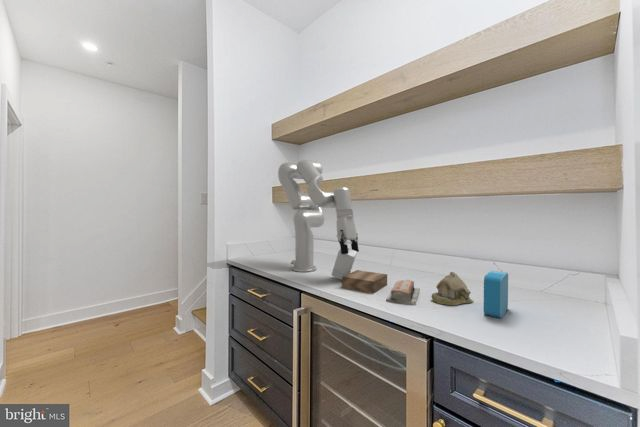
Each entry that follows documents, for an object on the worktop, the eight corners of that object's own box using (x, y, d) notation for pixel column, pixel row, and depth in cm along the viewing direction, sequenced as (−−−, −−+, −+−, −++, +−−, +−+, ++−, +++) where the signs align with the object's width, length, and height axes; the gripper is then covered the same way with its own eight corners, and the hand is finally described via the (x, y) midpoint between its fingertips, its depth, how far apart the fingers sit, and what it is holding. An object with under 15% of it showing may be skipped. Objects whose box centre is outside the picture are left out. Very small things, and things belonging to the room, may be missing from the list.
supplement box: (345, 282, 121) (354, 257, 117) (330, 275, 123) (338, 250, 119) (350, 274, 128) (357, 251, 124) (335, 268, 130) (342, 245, 126)
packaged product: (416, 292, 91) (385, 289, 95) (416, 306, 91) (385, 302, 95) (419, 279, 107) (394, 277, 111) (419, 291, 107) (394, 289, 111)
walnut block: (341, 288, 112) (341, 276, 112) (357, 281, 123) (357, 270, 123) (373, 294, 104) (373, 281, 104) (387, 286, 115) (387, 274, 115)
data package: (491, 305, 91) (492, 269, 91) (508, 308, 88) (508, 271, 88) (483, 315, 82) (483, 276, 82) (500, 319, 79) (501, 278, 79)
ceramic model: (447, 293, 105) (447, 267, 105) (477, 301, 96) (478, 272, 96) (425, 300, 97) (426, 272, 97) (457, 309, 88) (457, 278, 88)
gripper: (346, 217, 132) (352, 252, 130) (327, 216, 118) (333, 255, 116) (360, 214, 128) (366, 250, 126) (342, 212, 114) (348, 253, 111)
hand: (350, 253), depth 121 cm, fingers open, 9 cm apart
